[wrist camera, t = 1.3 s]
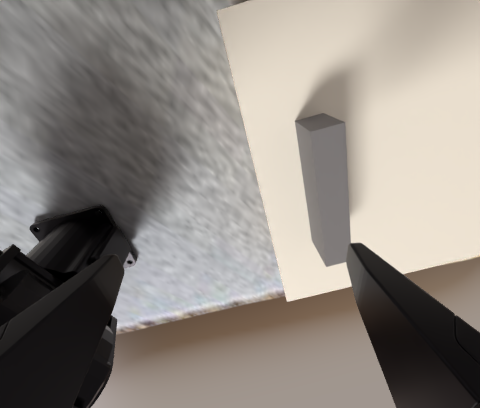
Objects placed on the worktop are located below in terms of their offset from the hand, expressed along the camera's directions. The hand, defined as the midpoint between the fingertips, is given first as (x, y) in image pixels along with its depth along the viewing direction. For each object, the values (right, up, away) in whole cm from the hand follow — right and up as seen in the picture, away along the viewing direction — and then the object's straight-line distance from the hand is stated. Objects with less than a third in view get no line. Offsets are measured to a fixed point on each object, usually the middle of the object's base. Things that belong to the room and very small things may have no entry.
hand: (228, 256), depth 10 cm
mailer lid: (+9, +4, +5) cm, 11 cm away
